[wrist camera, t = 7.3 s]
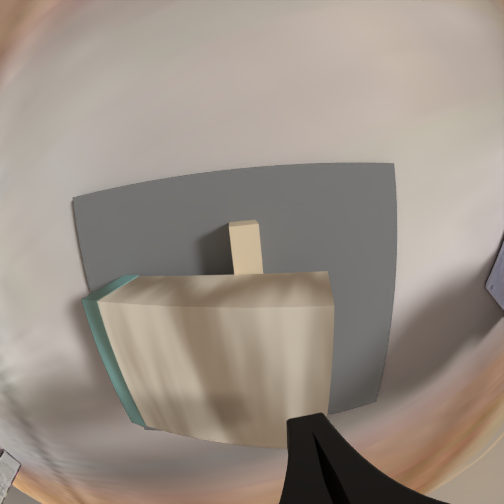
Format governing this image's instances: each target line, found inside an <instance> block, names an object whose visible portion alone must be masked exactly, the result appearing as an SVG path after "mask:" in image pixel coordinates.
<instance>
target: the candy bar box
mask: <svg viewBox="0 0 504 504" xmlns="http://www.w3.org/2000/svg"><path fill="white" fill-rule="evenodd" d="M20 466H21V464H20V463H19V462H18V461H17V460H16V459H15V458H13V457H12V456H11V455H10V454H9V453H7V452H6V451H5V450H3V452H2V453H1V455H0V504H3V502H4V500H5V498H6V496H7V494H8V492H9V489H10V487H11V485H12V483H13V481H14V479H15V477H16V475H17V473H18V471H19V469H20Z"/></svg>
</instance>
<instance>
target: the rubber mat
mask: <svg viewBox="0 0 504 504" xmlns="http://www.w3.org/2000/svg"><path fill="white" fill-rule="evenodd" d="M73 204H74V212H75V219H76V226H77V232H78V238H79V244H80V249H81V254H82V259H83V263H84V268H85V272H86V277H87V281H88V285H89V289H90V292H91V294H92V293H94V292H95V291H97V290H99V289H101V288H102V287H104V286H106V285H108V284H110V283H111V282H113V281H115V280H117V279H119V278H120V277H122V276H124V275H139V276H195V275H238V274H269V273H296V272H319V271H328V275H329V280H330V285H331V290H332V295H333V300H334V337H333V356H332V371H331V383H330V394H329V404H328V413H327V415H330V414H334V413H338V412H342V411H345V410H349V409H353V408H356V407H360V406H363V405H366V404H370V403H373V402H376V400H377V396H378V392H379V388H380V383H381V379H382V374H383V369H384V364H385V359H386V353H387V347H388V341H389V334H390V327H391V320H392V311H393V302H394V291H395V278H396V259H397V201H396V182H395V169H394V163H315V164H293V165H277V166H263V167H252V168H241V169H231V170H222V171H214V172H206V173H198V174H191V175H184V176H177V177H171V178H165V179H159V180H153V181H147V182H142V183H137V184H132V185H126V186H122V187H117V188H112V189H107V190H103V191H98V192H94V193H90V194H86V195H82V196H78V197H74V198H73ZM143 427H144V429H145V430H159V429H155V428H152V427H148V426H147V427H145V426H143ZM159 431H163V430H159Z"/></svg>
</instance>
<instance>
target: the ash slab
mask: <svg viewBox="0 0 504 504" xmlns="http://www.w3.org/2000/svg"><path fill="white" fill-rule="evenodd" d="M82 303H83V306H84V310H85V313H86V316H87V319H88V322H89V325H90V328H91V331H92V334H93V337H94V340H95V342H96V345H97V348H98V350H99V353H100V355H101V358H102V360H103V363H104V365H105V368H106V370H107V372H108V375H109V377H110V379H111V381H112V384H113V386H114V388H115V390H116V392H117V394H118V396H119V398H120V400H121V403H122V404H123V406H124V408H125V410H126V412H127V414H128V416H129V418H130V420H131V422H132V423H135V424H138V425H141V426H145V427H147V426H148V427H152V428H155V429H159V430H163V431H166V432H170V433H175V434H179V435H183V436H188V437H193V438H198V439H203V440H208V441H214V442H221V443H228V444H235V445H244V446H253V447H266V448H284V449H287V425H286V421H287V420H288V419H290V418H295V417H301V416H306V415H311V414H316V413H320V412H322V413H323V414H324V415H325V416H326V418H327V413H328V404H329V394H330V383H331V371H332V356H333V337H334V300H333V295H332V290H331V285H330V280H329V275H328V271H319V272H296V273H269V274H238V275H195V276H139V275H124V276H122V277H120V278H119V279H117V280H115V281H113V282H111V283H110V284H108V285H106V286H104V287H102V288H101V289H99V290H97V291H95V292H94V293H92V294H90V295H88V296H87V297H85V298H83V299H82Z"/></svg>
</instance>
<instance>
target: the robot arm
mask: <svg viewBox="0 0 504 504" xmlns="http://www.w3.org/2000/svg"><path fill="white" fill-rule="evenodd" d="M486 289H487V290H488V291H489V293H490V294H491V295H492V296H493V298H494V299H495V300H496V301H497V303H498V304H499V305H500V307H501V308H502V309H503V311H504V241H503V244H502V247H501V249H500V252H499V255H498V257H497V260H496V262H495V264H494V267H493V269H492V271H491V274H490V276H489V278H488V280H487V283H486ZM286 425H287V449H288V465H287V471H286V477H285V482H284V487H283V491H282V495H281V499H280V502H279V504H449V503H446V502H442V501H439V500H436V499H433V498H430V497H427V496H425V495H422V494H420V493H418V492H416V491H414V490H412V489H409V488H407V487H405V486H403V485H402V484H400V483H398V482H396V481H395V480H393V479H391V478H390V477H388V476H387V475H385V474H384V473H382V472H381V471H380V470H378V469H377V468H376V467H374V466H373V465H372V464H371V463H369V462H368V461H367V460H366V459H365V458H363V457H362V456H361V455H360V454H359V453H358V452H357V451H356V450H355V449H354V448H353V447H352V446H351V445H350V444H349V443H348V442H347V441H346V440H345V439H344V438H343V437H342V436H341V435H340V434H339V432H338V431H337V430H336V429H335V428H334V427H333V425H332V424H331V423H330V421H329V420H328V419H327V418H326V416H325V415H324V414H323V413H322V412H320V413H316V414H311V415H306V416H301V417H295V418H290V419H288V420H287V421H286Z"/></svg>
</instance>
